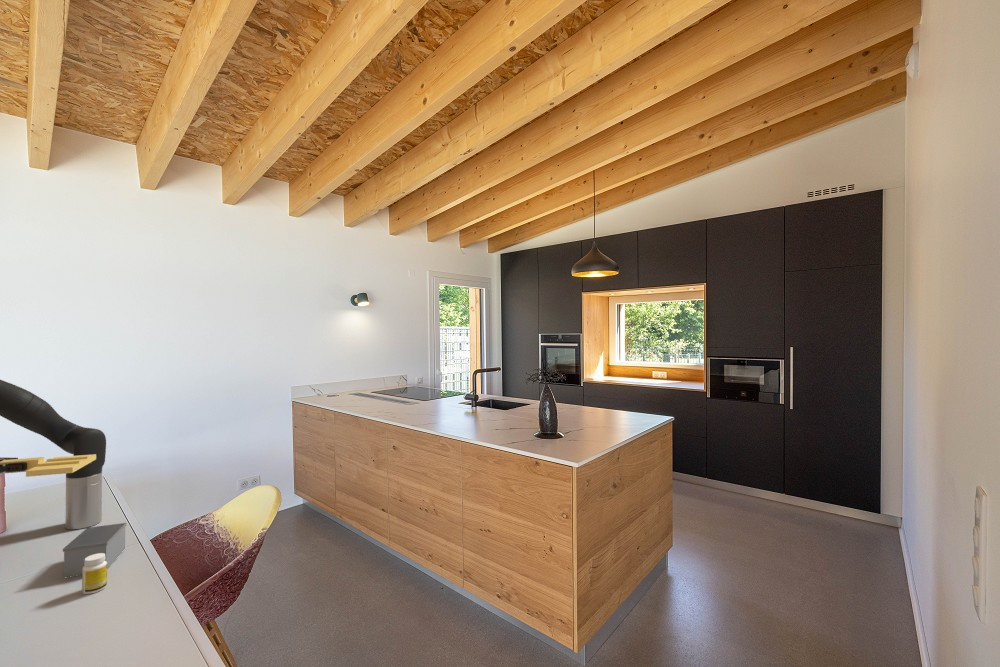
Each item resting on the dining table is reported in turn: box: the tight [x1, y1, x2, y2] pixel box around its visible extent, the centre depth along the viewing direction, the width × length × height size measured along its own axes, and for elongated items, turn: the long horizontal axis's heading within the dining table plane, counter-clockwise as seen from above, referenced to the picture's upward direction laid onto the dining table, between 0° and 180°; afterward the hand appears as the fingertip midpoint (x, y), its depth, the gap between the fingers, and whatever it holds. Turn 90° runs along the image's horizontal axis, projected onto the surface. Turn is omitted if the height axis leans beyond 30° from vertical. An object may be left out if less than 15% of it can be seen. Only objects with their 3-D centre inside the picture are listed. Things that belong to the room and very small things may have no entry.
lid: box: [0, 454, 96, 478], centre depth 125 cm, size 14×18×3 cm
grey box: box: [62, 522, 127, 578], centre depth 129 cm, size 14×9×8 cm, turn 23°
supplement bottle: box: [81, 553, 108, 595], centre depth 116 cm, size 5×5×8 cm
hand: (29, 464), depth 124 cm, fingers closed on lid, 3 cm apart
